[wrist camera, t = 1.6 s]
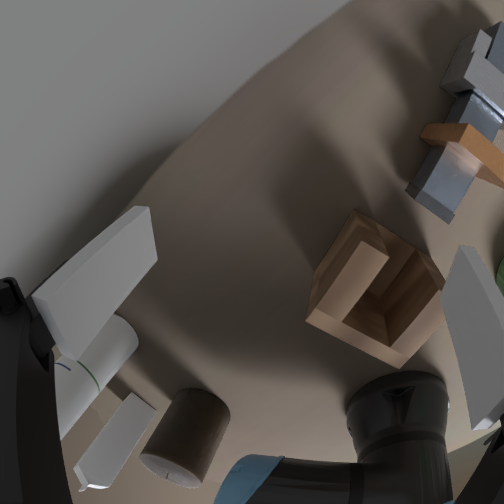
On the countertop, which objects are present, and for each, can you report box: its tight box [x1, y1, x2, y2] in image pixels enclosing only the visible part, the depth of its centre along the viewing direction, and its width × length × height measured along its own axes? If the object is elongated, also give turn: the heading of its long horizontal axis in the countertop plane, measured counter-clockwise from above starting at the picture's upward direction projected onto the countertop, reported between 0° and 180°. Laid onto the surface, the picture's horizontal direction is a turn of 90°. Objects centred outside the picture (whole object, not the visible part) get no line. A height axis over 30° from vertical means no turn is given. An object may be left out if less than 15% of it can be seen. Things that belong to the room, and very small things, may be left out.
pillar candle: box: [139, 388, 230, 488], centre depth 40 cm, size 10×10×15 cm
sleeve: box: [439, 29, 504, 130], centre depth 18 cm, size 7×6×6 cm
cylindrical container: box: [54, 314, 138, 441], centre depth 33 cm, size 7×7×25 cm
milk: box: [73, 392, 157, 491], centre depth 42 cm, size 6×6×22 cm
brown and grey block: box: [405, 21, 504, 224], centre depth 18 cm, size 6×20×10 cm, turn 155°
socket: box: [306, 209, 446, 369], centre depth 27 cm, size 10×8×9 cm
